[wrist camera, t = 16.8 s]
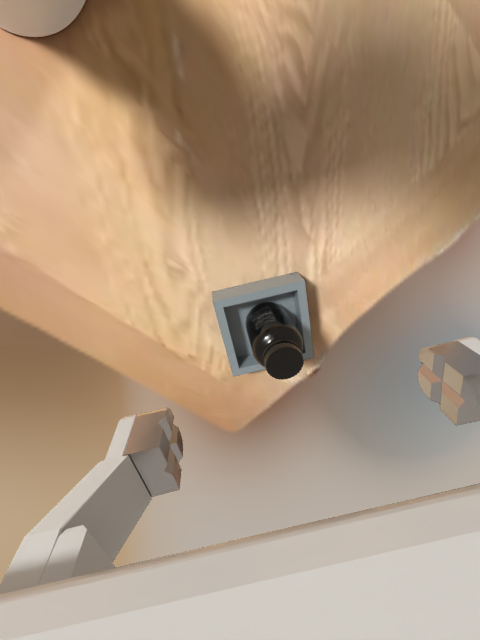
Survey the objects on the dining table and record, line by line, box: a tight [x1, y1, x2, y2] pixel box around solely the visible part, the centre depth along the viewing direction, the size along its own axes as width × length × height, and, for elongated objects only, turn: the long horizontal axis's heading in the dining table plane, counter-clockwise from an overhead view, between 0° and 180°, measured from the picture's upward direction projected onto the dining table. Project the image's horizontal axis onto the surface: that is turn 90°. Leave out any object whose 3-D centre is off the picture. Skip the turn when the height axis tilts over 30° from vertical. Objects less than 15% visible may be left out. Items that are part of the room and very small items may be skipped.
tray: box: [212, 272, 314, 376], centre depth 46 cm, size 13×13×4 cm
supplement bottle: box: [246, 302, 304, 379], centre depth 42 cm, size 7×7×12 cm
